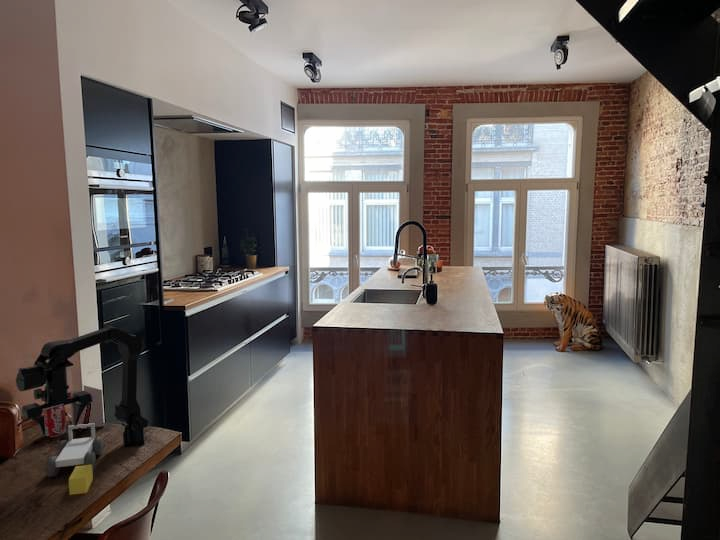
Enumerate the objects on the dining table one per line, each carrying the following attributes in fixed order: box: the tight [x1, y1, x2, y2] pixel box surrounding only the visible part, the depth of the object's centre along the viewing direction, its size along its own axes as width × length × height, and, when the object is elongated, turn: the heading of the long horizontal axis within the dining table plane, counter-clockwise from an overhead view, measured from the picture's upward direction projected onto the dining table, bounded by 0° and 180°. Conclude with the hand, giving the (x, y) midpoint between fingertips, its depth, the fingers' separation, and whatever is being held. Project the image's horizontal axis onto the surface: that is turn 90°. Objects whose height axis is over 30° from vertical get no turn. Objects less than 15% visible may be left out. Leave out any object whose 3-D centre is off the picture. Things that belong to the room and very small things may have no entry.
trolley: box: [46, 423, 104, 478], centre depth 167 cm, size 18×12×10 cm
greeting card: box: [70, 385, 105, 427], centre depth 197 cm, size 11×7×15 cm, turn 61°
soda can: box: [42, 402, 67, 438], centre depth 191 cm, size 7×7×12 cm
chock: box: [68, 464, 94, 496], centre depth 154 cm, size 4×8×5 cm, turn 15°
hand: (59, 430), depth 162 cm, fingers open, 9 cm apart
